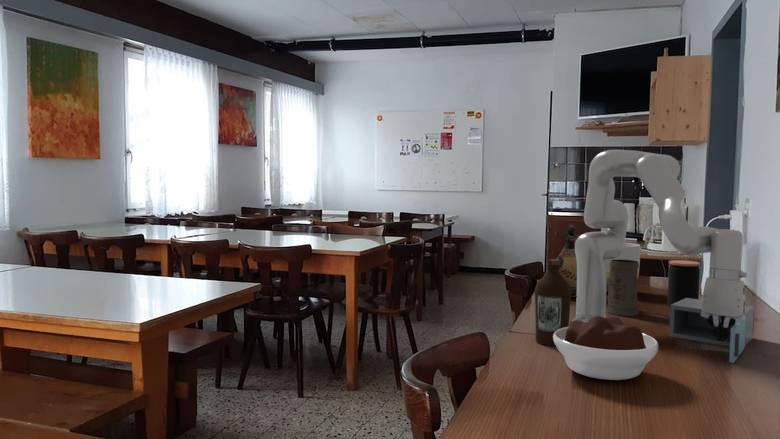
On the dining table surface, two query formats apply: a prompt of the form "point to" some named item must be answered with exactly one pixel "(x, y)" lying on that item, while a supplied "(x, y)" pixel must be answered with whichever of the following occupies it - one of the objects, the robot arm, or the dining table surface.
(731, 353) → the side door
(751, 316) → the grey cabinet
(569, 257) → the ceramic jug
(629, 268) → the beer stein
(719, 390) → the dining table surface
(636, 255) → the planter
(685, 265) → the coffee jar
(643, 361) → the white dessert bowl
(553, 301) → the olive oil
